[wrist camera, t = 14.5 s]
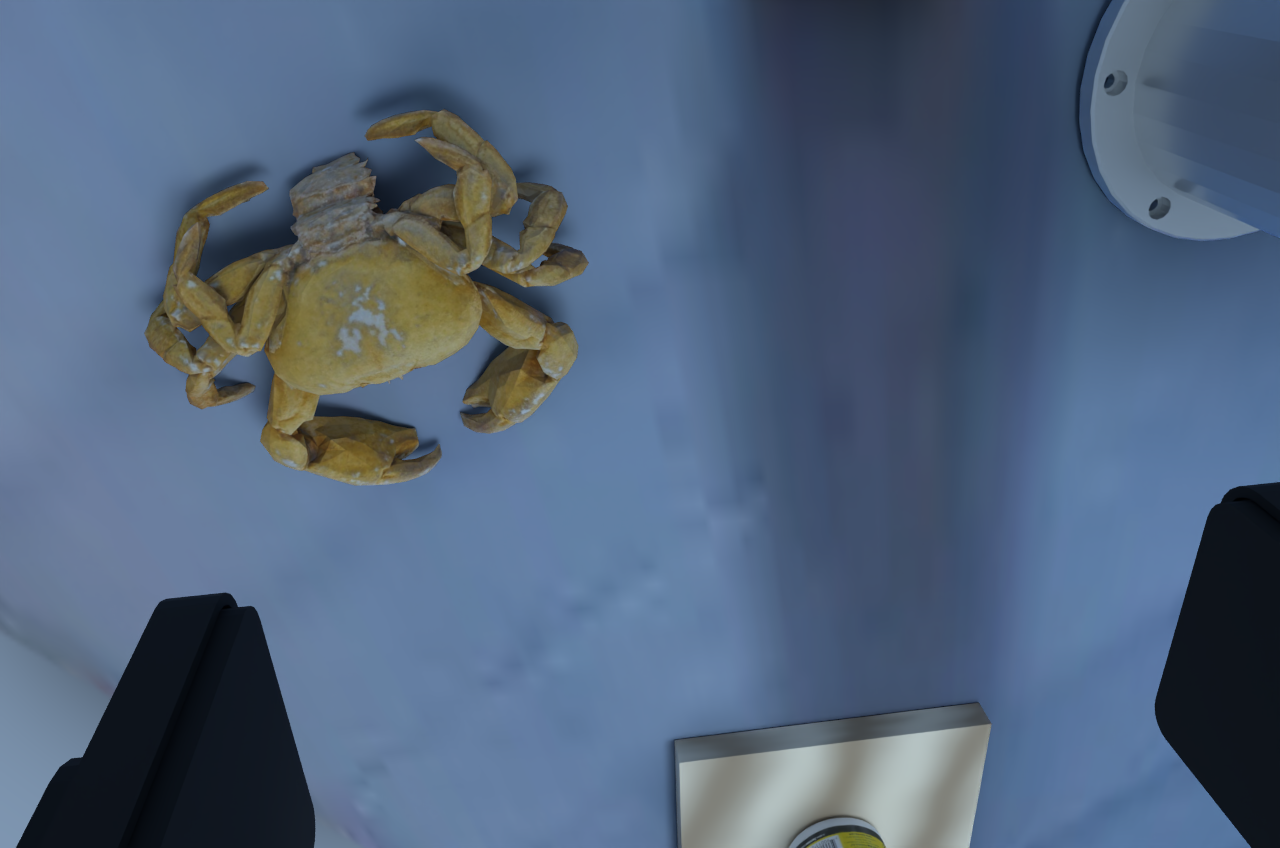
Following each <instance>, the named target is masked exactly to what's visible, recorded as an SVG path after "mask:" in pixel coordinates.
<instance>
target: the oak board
mask: <svg viewBox="0 0 1280 848" xmlns="http://www.w3.org/2000/svg"><path fill="white" fill-rule="evenodd" d="M990 729H991V722H990V721H989V719H988V717H987V716H986V714H985V712H984V711H983V709H982V707H981V705H980V704H979V703H972V704H964V705H956V706H948V707H940V708H931V709H923V710H915V711H907V712H899V713H891V714H883V715H875V716H866V717H858V718H850V719H842V720H834V721H826V722H818V723H810V724H801V725H793V726H785V727H777V728H769V729H761V730H753V731H745V732H736V733H728V734H720V735H712V736H704V737H696V738H688V739H679V740H675V770H676V804H677V837H678V848H789V846H790V845H791V843H792V842H793V840H794V839H795V838H796V837H797V836H798V835H799V834H800V833H801V832H802V831H804V830H805V829H807V828H808V827H810V826H812V825H814V824H816V823H818V822H821V821H824V820H828V819H833V818H855V819H859V820H863V821H865V822H867V823H869V824H870V825H872V826H873V827H874V828H875V829H876V830H877V831H878V833H879V834H880V836H881V838H882V840H883V842H884V844H885V846H886V848H969V845H970V840H971V834H972V829H973V823H974V818H975V812H976V807H977V801H978V795H979V790H980V784H981V779H982V773H983V768H984V762H985V757H986V751H987V746H988V740H989V735H990Z"/></svg>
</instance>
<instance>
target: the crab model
mask: <svg viewBox="0 0 1280 848" xmlns="http://www.w3.org/2000/svg"><path fill="white" fill-rule="evenodd" d="M431 126H432V130H433V134H434V136H435V137H436V138H437V139H435V138H430V137H420V138H418V139H415V141H416V142H417V143H419V144H420V145H421V146H422V147H423V148H425V149H426V150H427V151H428V152H429V153H430V154H431V155H432V156H433V157H434V158H435V159H437V160H439V161H441V162H442V163H444V164H446V165H448V166H449V167H451V168H452V169H454V170H455V171H456V172H457V182H456V185H453V184H447V185H442V186H438V187H435V188H432V189H430V190H428V191H426V192H425V193H423V194H420V193H419V194H417V195H416V196H414V197H412V198H410V199H408V200H406V201H404V202H403V203H402V204H401V206H400V207H399V208H398V209H392V208H391V209H390V210H389V211H388V212H387V213H386V214H383V211H382V210H381V209H380V208H379V207H378V205H377V204H375V203H377V202H379V201H380V200H379V199H378V198H374V193H373V191H374V187H375V182H376V176H371V177H370V174H371V169H369V168H366V167H365V165H366V163H367V161H368V158H367V160H366V161H364V162H361V163H359V161H360V158H359V157H357V156H355V153H349V154H347V155H345V156H342V157H340V158H338V159H336V160H334V161H332V162H331V163H329V164H326V165H321V166H317V167H313V170H312V173H313V174H311V175H309V176H307V177H305V178H304V179H303V180H302V181H300V182H299V183H298V184H297V185H296V186H294V187H293V188H292V189H291V190H290V193H289V196H290V199H291V202H292V206H293V209H294V210H293V216H295V217H296V219H297V222H296V223H295V224H293V225H292V226H291V227H290V228H291V230H292V231H293V233H294V234H295V235H297V236H298V241H297V242H296V243H295V244H291V245H286V246H283V247H281V248H278V249H268V250H264V251H261V252H258V253H256V254H253V255H251V256H249V257H247V258H244V259H241V260H238V261H236V262H233V263H232V264H230V265H228V266H226V267H224V268H223V269H221V270H220V271H219V272H217V273H216V274H214V275H213V276H211V277H210V278H209V279H207V280H206V281H205V282H203V281H201V280H200V279H199V278H197V277H196V275H197V272H198V269H199V266H200V260H201V255H202V251H203V247H204V244H205V241H206V239H207V236H208V231H209V226H210V224H209V221H208V219H207V217H210V216H219V215H221V214H223V213H225V212H227V211H229V210H230V209H232V208H234V207H236V206H237V205H239V204H241V203H244V202H247V201H250V198H252V197H254V196H256V195H259V194H261V193H263V192H264V191H266V190H268V189H269V188H268V187H267V186H266V185H265V183H264V182H260V181H246V182H243V183H240V184H237V185H234V186H231V187H228V188H226V189H224V190H222V191H220V192H218V193H216V194H214V195H212V196H210V197H208V198H206V199H205V200H203V201H202V202H200V203H199V204H197V205H196V206H194V207H193V208H192V209H190V210H189V211H188V212H187V213H186V214H185V215H184V217H183V220H182V223H181V225H180V227H179V229H178V231H177V235H176V243H175V251H174V261H173V264H172V265H171V266H170V268H169V272H168V275H167V281H166V286H165V290H164V294H163V300H162V302H161V303H160V304H159V306H158V307H157V308H156V310H155V311H154V312H153V313H152V315H151V317H150V320H149V324H148V327H147V329H146V331H145V333H144V334H145V336H146V338H147V340H148V343H149V347H150V348H151V349H153V350H154V351H155V352H156V353H157V354H158V355H159V356H160V357H162V358H163V360H164V361H165V362H166V363H168V364H170V365H171V366H173V367H176V368H177V369H178V370H180V371H182V372H184V373H187V374H189V376H188V378H187V381H186V393H187V398H188V400H189V402H190V404H192V405H194V406H196V407H198V408H200V409H204V408H206V407H212V406H218V405H222V404H226V403H230V402H233V401H236V400H239V399H241V398H243V397H245V396H246V395H248V394H250V393H252V392H253V391H254V389H255V386H254V385H252V384H250V383H244V384H238V385H234V386H225V387H222V388H218V389H216V386H215V384H214V381H215V379H213V377H215V376H216V375H218V374H219V373H220V372H221V371H222V369H223V368H224V367H225V366H226V364H227V363H228V362H229V361H230V360H231V359H233V358H234V357H235V356H236V355H237V354H238V355H242V356H246V357H249V356H250V355H252V354H254V353H256V352H258V351H261V350H262V348H263V346H264V344H265V349H264V351H265V353H266V355H267V357H268V359H269V361H270V363H271V365H272V368H273V370H274V372H275V373H274V377H273V380H272V386H271V392H270V399H269V406H268V413H267V419H268V422H267V423H266V425H265V426H264V428H263V430H262V435H261V440H260V442H261V443H262V444H263V446H264V447H265V448H266V450H267V451H268V452H269V454H270V455H271V456H272V458H273V459H274V461H276V462H278V463H280V464H282V465H284V466H286V467H289V468H292V469H296V470H299V471H302V470H305V471H308V472H311V473H314V474H317V475H320V476H323V477H327V478H330V479H334V480H337V481H341V482H344V483H348V484H351V485H386V484H393V483H399V482H405V481H409V480H412V479H414V478H417V477H420V476H422V475H424V474H426V473H428V472H429V471H430V470H431V469H432V468H433V467H434V466H436V464H437V463H438V461H439V460H440V458H441V456H442V451H441V448H440V444H439V445H438V446H437V447H436V449H435V450H434V451H433V452H431V453H429V454H427V455H424V456H422V457H419V458H417V459H410V460H402V459H403V458H406V457H407V456H409V455H410V454H411V453H412V452H413V451H414V450H415V449H416V448H417V447H418V446H419V442H418V437H417V433H416V430H415V428H413V429H410V428H404V427H399V426H393V425H390V424H387V423H384V422H381V421H376V420H369V419H364V418H360V417H348V416H334V417H322V416H314V414H315V411H316V407H317V404H318V400H319V396H320V395H327V394H336V393H345V392H348V391H350V390H352V389H353V388H357V387H360V386H362V388H363V387H364V386H366V385H368V384H380V383H383V382H386V381H388V382H389V384H390V380H392V379H395V378H397V377H399V378H401V379H402V380H403V375H404V374H406V373H408V372H410V371H412V370H413V369H416V368H421V367H425V366H428V365H435V364H437V363H439V362H441V361H442V360H444V359H446V358H448V357H450V356H451V355H453V354H455V353H457V352H458V351H459V350H460V349H462V348H463V347H464V346H465V345H467V344H468V342H469V341H470V339H471V338H472V336H473V335H474V333H475V332H476V330H477V329H478V327H479V325H480V326H481V327H482V328H483V329H484V330H486V331H487V332H488V333H489V334H490V335H491V336H493V337H494V338H496V339H497V340H499V341H500V342H502V343H503V344H505V345H507V346H509V347H508V348H507V349H506V350H504V351H503V352H502V353H501V354H500V355H499V356H497V357H496V358H495V359H494V360H493V361H492V362H491V363H490V364H489V366H488V367H487V369H486V370H485V372H484V374H483V375H482V376H481V377H480V378H479V379H478V380H477V381H476V382H475V383H474V384H472V385H471V386H470V387H469V388H468V389H467V390H466V393H465V396H464V398H463V403H465V404H467V405H470V404H471V405H472V406H473V408H475V407H480V406H481V407H491V409H490V410H489V411H488V413H482V414H474V415H469V414H465V413H461V412H460V414H461V417H462V421H463V424H464V426H465V427H467V428H469V429H471V430H473V431H475V432H480V433H489V434H490V433H494V432H499V431H503V430H506V429H507V428H509V427H511V426H513V425H514V424H515V423H520V422H523V421H524V420H525V419H527V418H528V417H529V416H531V415H532V414H533V413H534V412H535V411H536V410H537V408H538V407H539V406H540V405H541V404H542V403H543V402H544V401H545V400H546V399H547V398H548V396H549V395H550V394H551V392H552V391H553V389H554V388H555V386H556V385H557V384H558V382H559V381H560V379H561V378H562V377H563V376H565V375H566V374H567V373H568V371H569V370H570V368H571V366H572V365H573V363H574V361H575V360H576V358H577V353H578V344H577V341H576V339H575V336H574V333H573V331H572V330H571V329H570V327H569V326H568V325H567V324H566V323H563V322H557V323H554V322H553V320H552V318H550V317H548V316H547V315H545V314H543V313H541V312H540V311H538V310H536V309H534V308H533V307H531V306H529V305H528V304H526V303H524V302H522V301H521V300H519V299H517V298H515V297H514V296H512V295H510V294H508V293H506V292H504V291H502V290H500V289H498V288H496V287H494V286H490V285H487V284H483V283H480V282H476V281H472V280H471V278H470V277H469V276H468V275H467V273H470V272H472V271H474V270H476V269H478V268H479V267H480V265H483V266H485V267H487V268H489V269H491V270H493V271H495V272H497V273H499V274H500V275H502V276H504V277H506V278H508V279H510V280H512V281H514V282H516V283H518V284H520V285H521V286H523V287H531V286H554V285H557V284H559V283H562V282H564V281H566V280H568V279H570V278H573V277H575V276H578V275H581V274H582V273H583V271H584V270H585V268H586V266H587V265H588V263H589V262H588V261H587V259H586V258H585V256H584V254H583V253H582V251H580V250H576V249H573V248H572V247H568V246H565V245H562V244H559V243H551V242H552V241H553V239H554V238H555V232H556V231H557V230H558V228H559V226H560V224H561V222H562V220H563V218H564V216H565V214H566V210H567V207H568V206H567V203H566V201H565V198H564V196H563V194H562V192H559V191H557V190H556V189H555V188H553V187H552V186H548V185H545V184H538V183H530V182H525V183H516V178H515V176H514V174H513V171H512V169H511V168H510V166H509V165H508V164H507V163H506V161H505V160H504V159H503V158H502V156H501V155H500V154H499V152H498V151H497V150H496V149H495V148H494V147H493V146H492V145H491V144H490V143H489V142H488V141H484V140H483V139H482V138H481V137H480V136H479V135H478V133H476V132H475V131H474V130H473V129H472V128H471V127H470V126H468V125H467V124H466V123H465V122H464V121H463V120H462V119H461V118H460V117H459V116H457V115H456V114H453V113H451V112H449V111H447V110H445V109H443V110H441V111H439V112H436V111H428V110H420V111H412V112H407V113H402V114H397V115H393V116H391V117H388V118H386V119H383V120H381V121H379V122H377V123H375V124H373V125H372V126H371V127H370V128H369V129H368V130H367V132H366V134H365V137H366V139H367V140H368V141H370V140H376V139H382V138H399V137H404V136H410V135H415V134H416V133H417V132H418V131H421V130H423V129H426V128H428V127H431ZM358 163H359V164H358ZM518 198H521V199H524V200H526V201H529V202H531V205H530V207H529V212H528V216H527V218H526V219H525V220H524V221H523V224H524V227H525V229H524V230H522V231H521V232H520V249H519V250H518V251H517V250H515V249H514V248H512V247H511V246H510V245H508V244H506V243H504V242H503V241H501V240H499V239H497V238H495V237H494V236H492V218H491V217H496V216H498V215H501V214H508V215H509V213H510V211H511V208H512V206H513V205H514V204H515V203H516V201H517V200H518ZM542 254H543V255H545V256H547V257H549V258H548V260H547V261H546V260H544V261H542V262H541V264H540V267H537V268H535V267H533V266H532V265H531V263H533V262H534V261H535V260H536V259H537V258H539V257H540V256H541V255H542ZM263 269H264V270H263ZM261 272H262V273H261ZM236 302H237V303H236ZM234 303H236V304H235V305H234V306H233V307H232V309H231V310H230V312H229V313H228V310H227V306H229V305H231V304H234ZM201 325H202V326H203V328H204V329H205V330H206V331H207V332H208V333H209V337H208V338H207V340H206V342H205V343H204V345H203V346H201V347H200V348H199V349H198V350H197V351H196V348H195V347H193V346H192V345H190V343H189V342H188V341H187V339H186V338H185V336H184V335H183V334H182V333H181V332H180V330H179V329H178V328H177V327H181V328H183V329H185V330H187V331H189V332H191V331H192V330H194V329H196V328H197V327H199V326H201ZM265 342H266V343H265Z"/></svg>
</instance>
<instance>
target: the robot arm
mask: <svg viewBox="0 0 1280 848" xmlns="http://www.w3.org/2000/svg"><path fill="white" fill-rule="evenodd" d="M1107 77H1108V80H1107V82H1106V83H1105V80H1106V78H1107ZM1104 83H1105V84H1104ZM1079 124H1080V131H1081V137H1082V144H1083V150H1084V154H1085V156H1086V159H1087V162H1088V164H1089V167H1090V169H1091V172H1092V175H1093V177H1094V179H1095V181H1096V182H1097V183H1098V185H1099V186H1100V188H1101V189H1102V191H1103V192H1104V194H1105V195H1106V197H1107V198H1108V200H1109V201H1111V202H1112V203H1113V204H1114V205H1115V206H1116V207H1117V208H1119V209H1120V210H1121V211H1122V212H1123V213H1124V214H1125V215H1126V216H1128V217H1129V218H1131V219H1133V220H1135V221H1137V222H1139V223H1140V224H1142V225H1144V226H1146V227H1148V228H1149V229H1152V230H1155V231H1157V232H1160V233H1163V234H1165V235H1168V236H1171V237H1174V238H1180V239H1188V240H1196V241H1210V240H1222V239H1231V238H1235V237H1239V236H1243V235H1246V234H1250V233H1254V232H1258V231H1260V230H1262V231H1264V232H1266V233H1268V234H1271V235H1273V236H1275V237H1278V238H1280V0H1112V1H1111V3H1110V5H1109V6H1108V8H1107V10H1106V12H1105V13H1104V15H1103V17H1102V19H1101V21H1100V24H1099V26H1098V29H1097V32H1096V34H1095V37H1094V39H1093V42H1092V45H1091V47H1090V50H1089V52H1088V56H1087V60H1086V65H1085V70H1084V74H1083V79H1082V84H1081V89H1080V113H1079ZM1155 715H1156V719H1157V723H1158V726H1159V728H1160V730H1161V733H1162V734H1163V736H1164V737H1165V739H1166V740H1167V741H1168V743H1169V744H1170V745H1171V747H1172V748H1173V749H1174V750H1175V752H1176V753H1177V754H1178V755H1179V757H1180V758H1181V759H1182V760H1183V762H1184V763H1185V764H1186V765H1187V767H1188V768H1189V769H1190V771H1191V772H1192V773H1193V774H1194V776H1195V777H1196V778H1197V779H1198V781H1199V782H1200V783H1201V784H1202V786H1203V787H1204V788H1205V790H1206V791H1207V792H1208V793H1209V795H1210V796H1211V797H1212V798H1213V800H1214V801H1215V802H1216V803H1217V805H1218V806H1219V807H1220V809H1221V810H1222V811H1223V812H1224V814H1225V815H1226V816H1227V817H1228V819H1229V820H1230V821H1231V822H1232V824H1233V825H1234V826H1235V828H1236V829H1237V830H1238V831H1239V833H1240V834H1241V835H1242V836H1243V838H1244V839H1245V840H1246V841H1247V843H1248V844H1249V845H1250V846H1251V848H1280V482H1277V483H1267V484H1258V485H1248V486H1239V487H1236V488H1233V489H1230V490H1229V491H1228V492H1227V493H1226V494H1225V495H1224V497H1223V499H1222V501H1221V503H1220V504H1217V505H1215V506H1214V507H1213V508H1212V509H1211V511H1210V513H1209V515H1208V517H1207V521H1206V524H1205V528H1204V531H1203V535H1202V538H1201V542H1200V545H1199V549H1198V552H1197V556H1196V559H1195V563H1194V566H1193V570H1192V573H1191V577H1190V580H1189V584H1188V587H1187V591H1186V594H1185V598H1184V601H1183V605H1182V608H1181V612H1180V615H1179V619H1178V622H1177V626H1176V629H1175V633H1174V636H1173V640H1172V643H1171V647H1170V650H1169V654H1168V657H1167V661H1166V664H1165V668H1164V671H1163V675H1162V678H1161V682H1160V685H1159V689H1158V692H1157V696H1156V700H1155ZM314 842H315V815H314V808H313V804H312V800H311V797H310V793H309V790H308V786H307V783H306V779H305V776H304V772H303V769H302V765H301V762H300V758H299V755H298V751H297V747H296V744H295V740H294V737H293V733H292V730H291V726H290V723H289V719H288V716H287V712H286V709H285V705H284V702H283V698H282V695H281V691H280V688H279V684H278V681H277V677H276V674H275V670H274V667H273V663H272V660H271V656H270V653H269V649H268V646H267V642H266V639H265V635H264V632H263V628H262V625H261V621H260V618H259V615H258V613H257V611H256V609H255V608H254V607H252V606H246V607H238V606H237V603H236V601H235V599H234V598H233V597H232V595H231V594H228V593H218V594H208V595H199V596H189V597H180V598H170V599H165V600H163V601H161V602H159V604H158V605H157V607H156V608H155V610H154V612H153V614H152V616H151V618H150V620H149V622H148V624H147V626H146V628H145V630H144V632H143V634H142V636H141V638H140V641H139V643H138V645H137V647H136V649H135V651H134V653H133V655H132V657H131V659H130V661H129V663H128V665H127V667H126V669H125V671H124V673H123V675H122V677H121V679H120V682H119V684H118V686H117V688H116V690H115V692H114V694H113V696H112V698H111V700H110V702H109V704H108V706H107V708H106V710H105V712H104V715H103V716H102V718H101V721H100V723H99V725H98V727H97V729H96V731H95V733H94V735H93V737H92V739H91V741H90V743H89V745H88V747H87V749H86V751H85V754H84V755H83V757H81V758H72V759H70V760H69V761H68V762H66V763H65V764H63V765H62V766H61V767H60V768H59V769H58V771H57V772H56V774H55V775H54V777H53V778H52V780H51V781H50V783H49V784H48V786H47V788H46V790H45V792H44V794H43V796H42V798H41V800H40V802H39V804H38V806H37V808H36V810H35V812H34V814H33V816H32V818H31V819H30V821H29V823H28V825H27V827H26V829H25V831H24V833H23V835H22V837H21V839H20V841H19V843H18V845H17V847H16V848H314Z"/></svg>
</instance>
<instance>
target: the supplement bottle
mask: <svg viewBox="0 0 1280 848" xmlns="http://www.w3.org/2000/svg"><path fill="white" fill-rule="evenodd" d="M789 848H886V846H885V844H884V842H883V840H882V838H881V836H880V834H879V833H878V831H877V830H876V829H875V828H874V827H873V826H872V825H870V824H869V823H867V822H865V821H863V820H859V819H855V818H833V819H828V820H824V821H821V822H818V823H816V824H814V825H812V826H810V827H808V828H807V829H805V830H804V831H802V832H801V833H800V834H799V835H798V836H797V837H796V838H795V839H794V840H793V842H792V843H791V845H790V846H789Z"/></svg>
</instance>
